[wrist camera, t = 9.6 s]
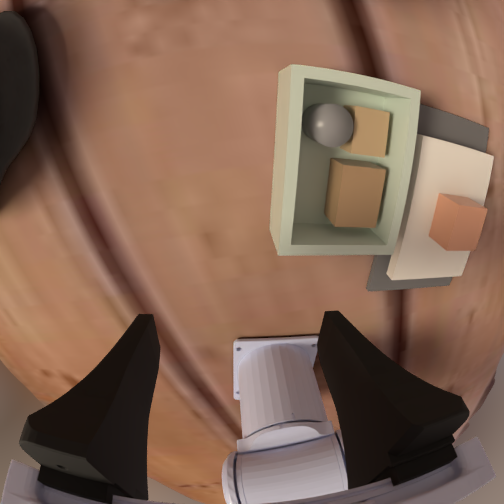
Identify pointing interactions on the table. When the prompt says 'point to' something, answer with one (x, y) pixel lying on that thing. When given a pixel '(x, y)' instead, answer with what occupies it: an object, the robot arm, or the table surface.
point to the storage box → (340, 162)
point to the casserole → (16, 86)
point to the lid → (441, 210)
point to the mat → (450, 131)
